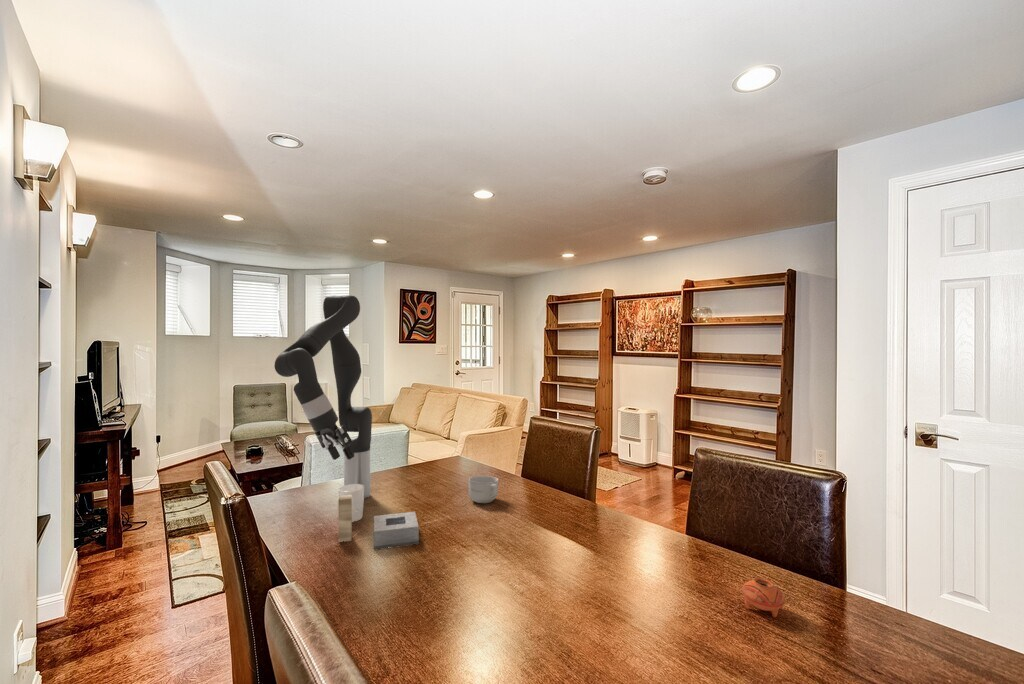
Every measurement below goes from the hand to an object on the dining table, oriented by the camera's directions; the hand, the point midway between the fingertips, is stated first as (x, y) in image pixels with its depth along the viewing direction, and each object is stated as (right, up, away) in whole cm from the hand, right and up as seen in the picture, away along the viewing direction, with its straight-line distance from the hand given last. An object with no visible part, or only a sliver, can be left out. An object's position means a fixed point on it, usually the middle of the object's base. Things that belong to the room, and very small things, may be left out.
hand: (344, 458), depth 138 cm
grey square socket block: (+18, -21, -7) cm, 29 cm away
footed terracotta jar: (+104, -21, -43) cm, 115 cm away
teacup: (+42, -22, +23) cm, 53 cm away
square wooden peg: (+3, -22, -7) cm, 23 cm away
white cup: (-1, -22, +8) cm, 23 cm away
